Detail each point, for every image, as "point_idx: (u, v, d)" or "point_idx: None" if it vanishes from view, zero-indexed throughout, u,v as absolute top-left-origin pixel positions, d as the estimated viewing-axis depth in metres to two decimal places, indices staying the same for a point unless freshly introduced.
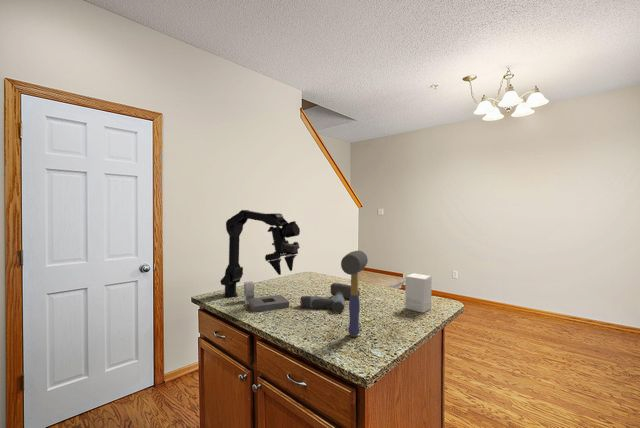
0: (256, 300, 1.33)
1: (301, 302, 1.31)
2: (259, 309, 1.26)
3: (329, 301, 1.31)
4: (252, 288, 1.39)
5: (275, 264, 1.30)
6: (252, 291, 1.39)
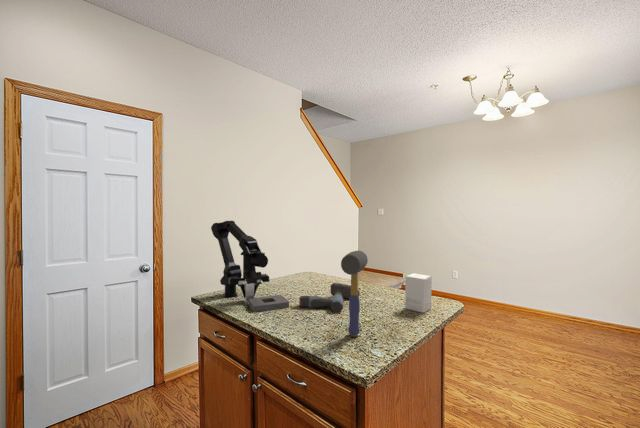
0: (256, 300, 1.33)
1: (300, 302, 1.31)
2: (259, 309, 1.26)
3: (328, 301, 1.31)
4: (252, 288, 1.39)
5: None
6: (252, 291, 1.39)
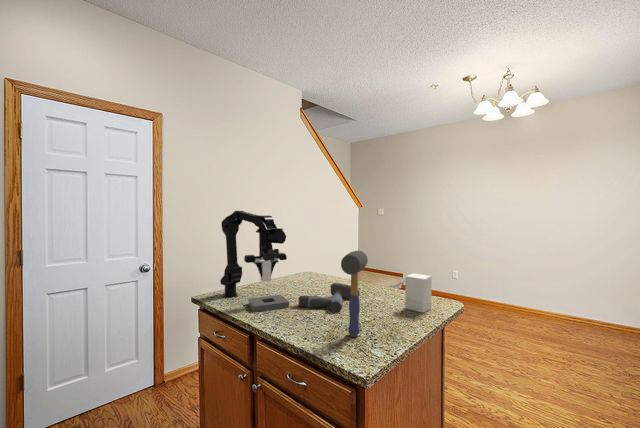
0: (256, 300, 1.33)
1: (299, 302, 1.32)
2: (259, 309, 1.26)
3: (327, 301, 1.31)
4: (269, 266, 1.33)
5: (258, 265, 1.34)
6: (269, 269, 1.33)
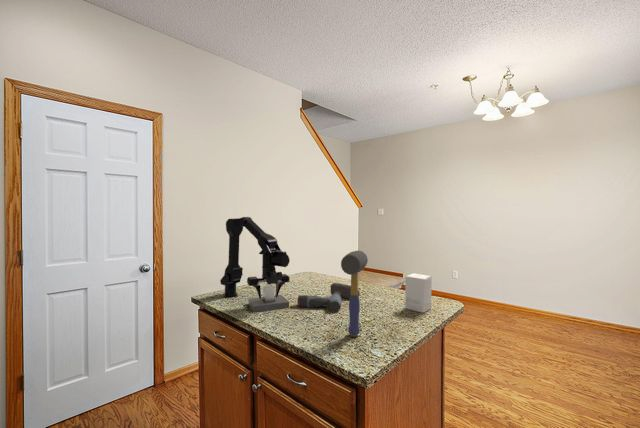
0: (256, 300, 1.33)
1: (298, 302, 1.32)
2: (259, 309, 1.26)
3: (326, 300, 1.32)
4: (272, 292, 1.33)
5: None
6: (272, 295, 1.33)
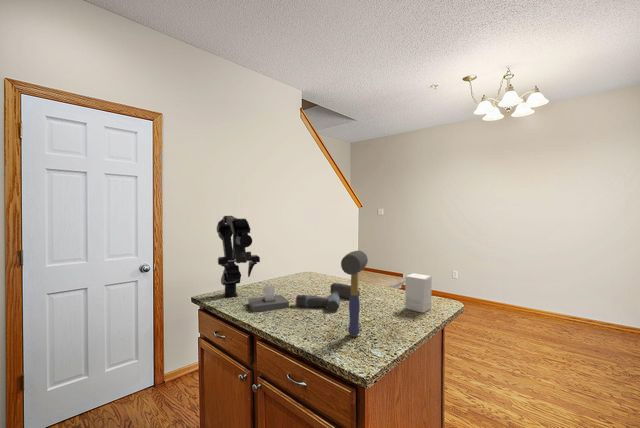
0: (256, 300, 1.33)
1: (297, 301, 1.33)
2: (259, 309, 1.26)
3: (324, 300, 1.32)
4: (272, 292, 1.33)
5: None
6: (272, 295, 1.33)
